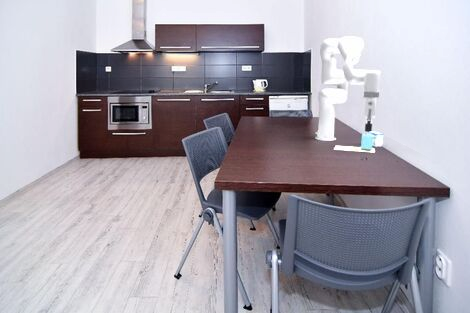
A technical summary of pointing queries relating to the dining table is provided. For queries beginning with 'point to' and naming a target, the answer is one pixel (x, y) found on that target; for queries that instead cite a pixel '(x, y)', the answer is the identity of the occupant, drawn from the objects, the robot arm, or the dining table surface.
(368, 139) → the pale aqua block
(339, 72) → the robot arm
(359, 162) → the dining table surface
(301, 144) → the dining table surface
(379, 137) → the medicine box
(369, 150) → the base board
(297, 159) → the dining table surface
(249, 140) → the dining table surface
